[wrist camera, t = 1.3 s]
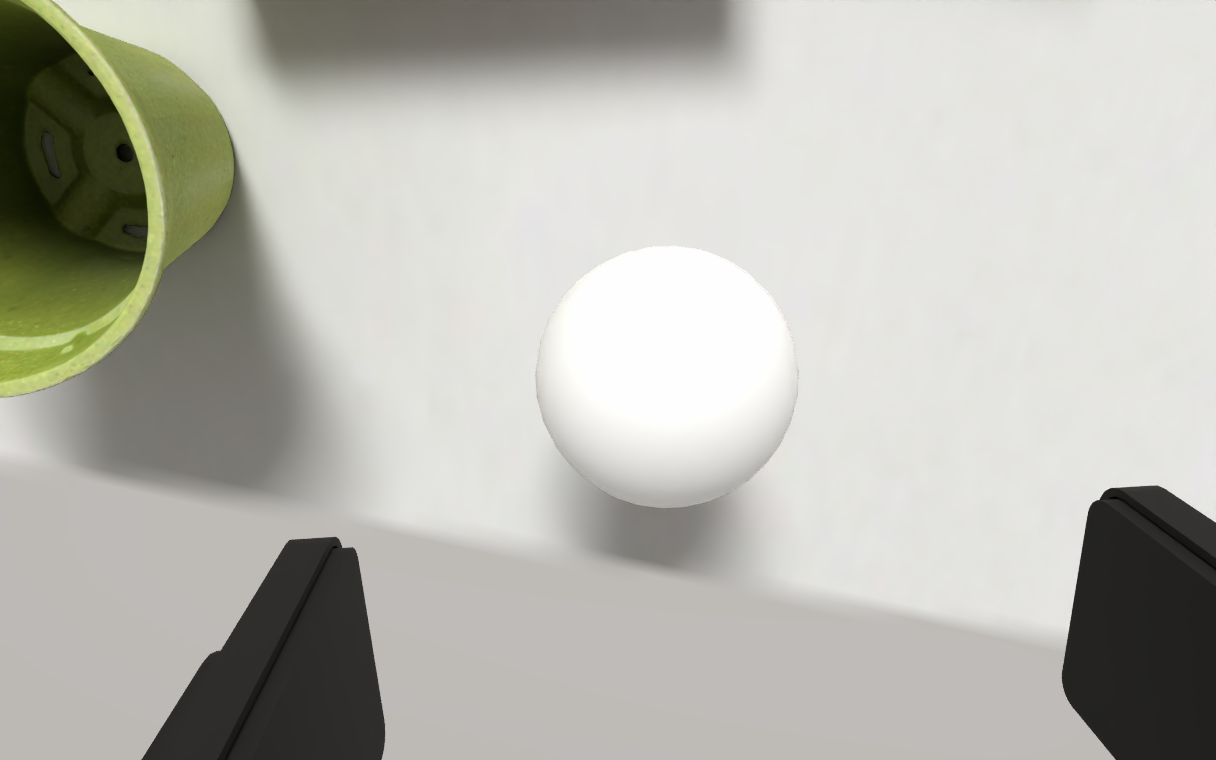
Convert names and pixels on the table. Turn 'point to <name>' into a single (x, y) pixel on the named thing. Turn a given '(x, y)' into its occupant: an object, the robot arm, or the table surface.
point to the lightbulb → (667, 376)
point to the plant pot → (93, 189)
